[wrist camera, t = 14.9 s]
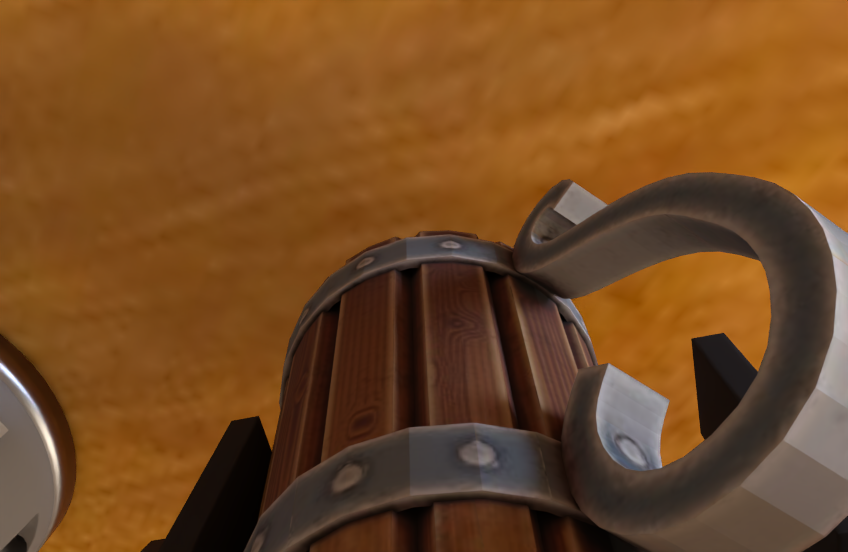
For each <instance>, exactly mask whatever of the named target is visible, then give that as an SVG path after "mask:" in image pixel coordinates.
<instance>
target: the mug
mask: <svg viewBox="0 0 848 552" xmlns="http://www.w3.org/2000/svg"><path fill="white" fill-rule="evenodd" d="M715 251H720V252H726V253H732V254H738V255H742V256H746V257H749V258H752V259H756V260H759V261H761V263H762V265H763V267H764V269H765V271H766V276H767V280H768V284H769V289H770V300H771V323H770V331H769V339H768V346H767V349H766V351H765V354H764V357H763V360H762V362H761V365H760V368H759V371H758V373H757V376H756V378H755V379H754V381H753V382H752V384H751V386H750V387H749V389H748V390H747V392H746V394H745V395H744V397H743V398H742V400H741V402H740V403H739V405H738V406H737V407H736V408H735V410H734V411H733V412H732V413H731V414H730V415H729V416H728V417H727V418H726V419H725V421H724V422H723V423H722V424H721V425H720V426H719V427H718V428H717V429H716V430H715V432H714V433H713V434H712V435H711V436H709V437H708V438H707V439H706V440H704V441H703V442H702V443H701V444H699V445H698V446H697V447H696V448H694V449H693V450H692V451H691V452H689V453H688V454H687V455H685V456H684V457H683V458H680V459H678V460H676V461H674V462H672V463H670V464H668V465H666V466H664V467H662V462H661V457H660V436H661V431H662V426H663V421H664V417H665V414H666V411H667V407H668V404H669V400H668V399H666V398H665V397H663V396H661V395H660V394H658V393H657V392H655V391H653V390H652V389H650V388H648V387H647V386H645V385H643V384H642V383H640V382H639V381H637V380H635V379H634V378H632V377H630V376H629V375H627V374H626V373H624V372H622V371H621V370H619V369H617V368H616V367H614V366H613V365H611V364H609V363H607V364H602V365H598V363H597V360H596V356H595V353H594V349H593V346H592V343H591V340H590V337H589V335H588V332H587V329H586V327H585V324H584V322H583V319H582V317H581V315H580V313H579V312H578V310H577V309H576V307H575V306H574V304H573V303H572V301H571V300H570V299H573V298H577V297H581V296H585V295H587V294H590V293H592V292H594V291H597V290H599V289H601V288H603V287H605V286H607V285H610V284H612V283H614V282H616V281H618V280H620V279H622V278H624V277H626V276H628V275H630V274H633V273H635V272H637V271H639V270H642V269H644V268H646V267H649V266H651V265H654V264H657V263H659V262H662V261H665V260H668V259H672V258H675V257H678V256H682V255H687V254H692V253H697V252H715ZM279 404H280V409H281V411H280V416H279V421H278V425H277V430H276V435H275V440H274V445H273V450H272V454H271V459H270V464H269V469H268V474H267V479H266V483H265V488H264V493H263V498H262V503H261V508H260V512H259V517H258V522H257V525H256V527H255V529H254V531H253V533H252V535H251V537H250V540H249V542H248V544H247V546H246V548H245V550H244V552H802V551H804V550H805V549H807V548H809V547H810V546H812V545H813V544H815V543H817V542H818V541H820V540H821V539H823V538H825V537H826V536H827V535H828V534H829V533H830V532H831V531H832V530H833V529H834V528H835V527H836V526H837V525H838V524H839V523H840V522H841V521H842V520H843V519H845V518H846V517H847V516H848V234H847V233H846V232H845V231H843V230H842V229H841V228H839V227H838V226H836V225H835V224H834V223H832V222H831V221H830V220H828V219H827V218H826V217H824V216H823V215H821V214H820V213H819V212H817V211H816V210H815V209H813V208H812V207H811V206H809V205H808V204H807V203H805V202H804V201H802V200H801V199H800V198H798V197H797V196H796V195H794V194H793V193H791V192H789V191H787V190H786V189H784V188H782V187H780V186H778V185H777V184H775V183H772V182H768V181H765V180H762V179H758V178H755V177H748V176H741V175H734V174H723V173H713V172H709V173H687V174H682V175H678V176H673V177H669V178H665V179H663V180H660V181H657V182H655V183H652V184H649V185H646V186H644V187H642V188H640V189H638V190H636V191H634V192H632V193H629V194H627V195H626V196H624V197H622V198H620V199H618V200H616V201H615V202H613V203H611V204H609V205H607V204H605V203H604V202H602V201H601V200H599V199H598V198H596V197H595V196H594V195H592V194H591V193H589V192H588V191H586V190H585V189H583V188H582V187H580V186H579V185H577V184H576V183H574V182H573V181H571V180H570V179H569V180H562V181H561V182H559V183H558V184H557V185H555V186H554V187H552V188H551V189H550V190H549V191H548V192H547V194H546V195H545V196H544V197H543V198H542V199H541V200H540V201H539V202H538V204H537V205H536V207H535V208H534V209H533V211H532V212H531V214H530V215H529V217H528V218H527V220H526V222H525V224H524V225H523V227H522V229H521V231H520V233H519V235H518V238H517V240H516V243H515V245H514V249H513V248H511V247H509V246H507V245H505V244H503V243H502V242H496V243H494V242H491V241H485V240H479V239H478V237H477V235H476V234H471V233H463V232H456V231H423V232H419V233H418V234H417V235H416V237H410V238H404V239H400V238H397V237H393V238H391V239H388V240H385V241H383V242H380V243H378V244H375V245H373V246H370V247H368V248H366V249H365V250H363V251H362V252H360V253H358V254H357V255H355V256H353V257H352V258H350V259H348V260H347V261H346V265H345V266H344V267H342V268H341V269H339V270H338V271H336V272H335V273H333V274H332V275H330V277H328V278H327V279H326V280H325V281H324V283H323V284H322V285H321V287H320V288H319V289H318V290H317V292H316V293H315V294H314V295H313V296H312V298H311V299H310V300H309V301H308V302H307V303H306V305H305V307H304V309H303V311H302V313H301V315H300V318H299V320H298V322H297V324H296V327H295V329H294V331H293V333H292V335H291V338H290V341H289V345H288V349H287V354H286V358H285V363H284V369H283V377H282V385H281V393H280V401H279Z"/></svg>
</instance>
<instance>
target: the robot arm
mask: <svg viewBox="0 0 848 552" xmlns="http://www.w3.org/2000/svg"><path fill="white" fill-rule="evenodd" d="M692 349H693V359H694V369H695V379H696V389H697V400H698V410H699V420H700V430H701V434H702V436H703V438H704V439H705V440H706V439H707V438H708V437H709V436H711V435H712V434H713V433H714V432H715V430H716V429H717V428H718V427H719V426H720V425H721V424H722V423H723V422H724V421H725V419H726V418H727V417H728V416H729V415H730V414H731V413H732V412H733V411H734V410H735V408H736V407H737V406H738V405H739V403H740V402H741V400H742V398H743V397H744V395H745V394H746V392H747V390H748V389H749V387H750V386H751V384H752V382H753V381H754V379H755V378H756V376H757V373H758V372H757V370H756V369H755V368H754V367H753V366H752V365H751V364H750V362H749V361H748V360H747V359H746V358H745V357H744V356H743V354H742V353H741V352H740V351H739V350H738V349H737V348H736V346H735V345H734V344H733V343H732V342H731V341H730V340H729V338H728V337H727V336H726V335H725V334H724V333H721V334H715V335H709V336H704V337H698V338H693V339H692ZM271 454H272V451H271V448H270V445H269V443H268V440H267V437H266V434H265V432H264V429H263V426H262V423H261V421H260V418H259V416H256V417H251V418H245V419H240V420H234V421H231V423H230V425H229V426H228V428H227V430H226V432H225V434H224V435H223V437H222V439H221V441H220V442H219V444H218V446H217V448H216V450H215V451H214V453H213V455H212V457H211V458H210V460H209V462H208V464H207V466H206V467H205V469H204V471H203V473H202V474H201V476H200V478H199V480H198V482H197V483H196V485H195V487H194V489H193V490H192V492H191V494H190V496H189V498H188V499H187V501H186V503H185V505H184V507H183V508H182V510H181V512H180V514H179V515H178V517H177V519H176V521H175V523H174V524H173V526H172V528H171V530H170V531H169V533H168V535H167V537H166V539H160V540H154V541H151V542H150V543H149V544H148V545H147V546H146V547H145V548H144V549H143V550H142V551H141V552H244V550H245V548H246V546H247V544H248V542H249V540H250V537H251V535H252V533H253V531H254V529H255V527H256V525H257V522H258V517H259V512H260V508H261V503H262V498H263V493H264V488H265V483H266V479H267V474H268V469H269V464H270V459H271ZM75 480H76V458H75V449H74V444H73V439H72V435H71V432H70V429H69V426H68V423H67V420H66V418H65V416H64V413H63V411H62V409H61V407H60V405H59V403H58V401H57V399H56V398H55V396H54V394H53V392H52V391H51V389H50V388H49V386H48V385H47V383H46V382H45V380H44V379H43V378H42V376H41V375H40V374H39V373H38V371H37V370H36V369H35V367H34V366H33V365H32V364H31V363H30V362H29V361H28V360H27V359H26V357H25V356H24V355H23V354H22V353H21V352H20V351H19V350H18V349H17V348H16V347H14V346H13V345H12V344H11V343H10V342H9V341H8V340H7V339H6V338H4V337H3V336H2V335H1V334H0V552H38V551H39V549H40V548H41V547H42V546H43V544H44V543H45V542H46V541H47V539H48V538H49V537H50V535H51V534H52V533H53V532H54V530H55V529H56V528H57V527H58V525H59V524H60V522H61V521H62V519H63V517H64V516H65V514H66V512H67V509H68V507H69V505H70V502H71V499H72V496H73V492H74V487H75ZM802 552H848V516H847V517H846V518H845V519H843V520H842V521H841V522H840V523H839V524H838V525H837V526H836V527H835V528H834V529H833V530H832V531H831V532H830V533H829V534H828V535H827V536H826V537H825V538H823V539H821V540H820V541H818V542H817V543H815V544H813V545H812V546H810V547H809V548H807V549H805V550H804V551H802Z"/></svg>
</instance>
